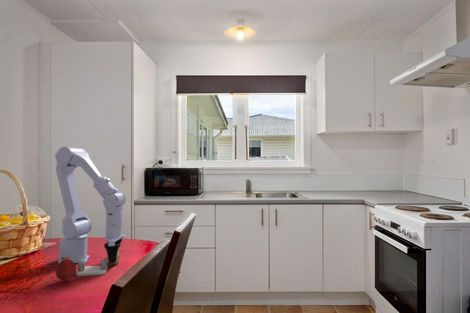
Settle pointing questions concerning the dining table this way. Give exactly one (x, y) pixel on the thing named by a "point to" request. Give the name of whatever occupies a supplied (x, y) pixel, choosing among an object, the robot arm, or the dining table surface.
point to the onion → (65, 269)
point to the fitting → (91, 268)
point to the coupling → (115, 261)
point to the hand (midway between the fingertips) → (113, 260)
